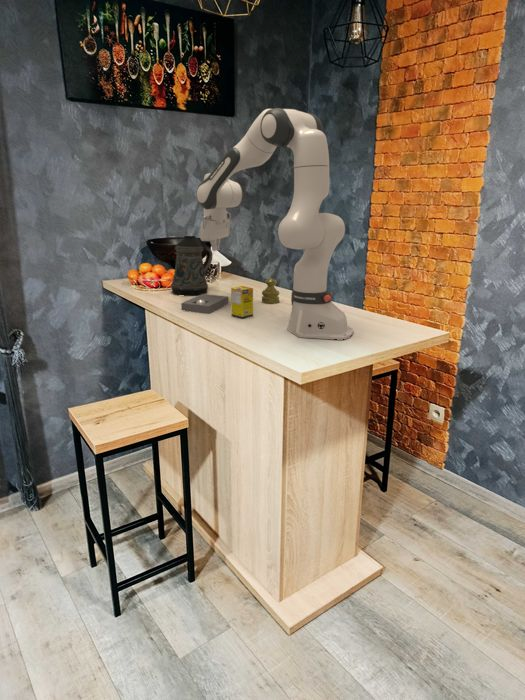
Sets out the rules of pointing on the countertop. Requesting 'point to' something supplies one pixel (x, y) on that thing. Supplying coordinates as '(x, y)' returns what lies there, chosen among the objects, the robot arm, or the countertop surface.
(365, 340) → the countertop surface
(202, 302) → the steel ball
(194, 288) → the beer stein
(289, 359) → the countertop surface
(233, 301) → the supplement box
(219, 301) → the hole board
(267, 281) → the olive tiered figure
